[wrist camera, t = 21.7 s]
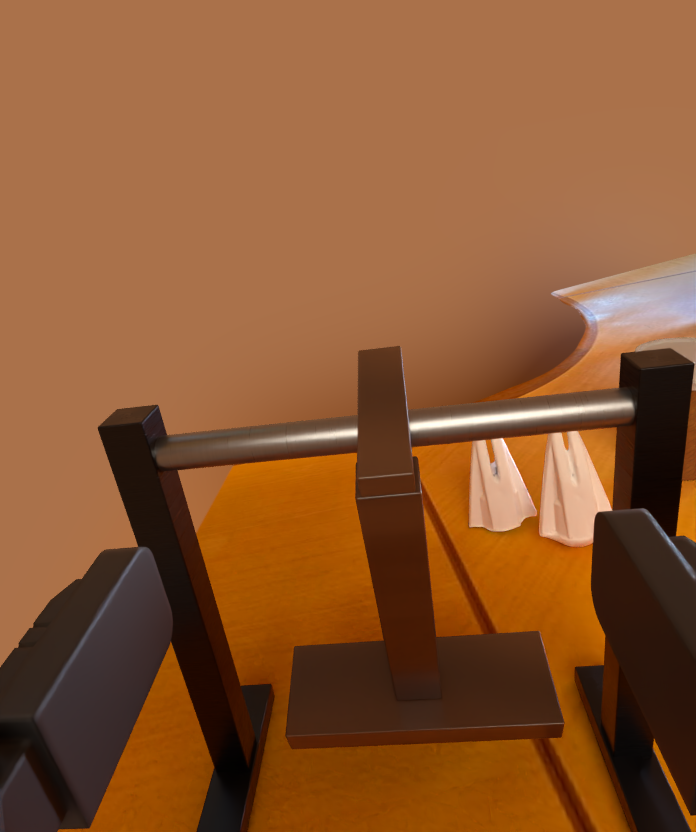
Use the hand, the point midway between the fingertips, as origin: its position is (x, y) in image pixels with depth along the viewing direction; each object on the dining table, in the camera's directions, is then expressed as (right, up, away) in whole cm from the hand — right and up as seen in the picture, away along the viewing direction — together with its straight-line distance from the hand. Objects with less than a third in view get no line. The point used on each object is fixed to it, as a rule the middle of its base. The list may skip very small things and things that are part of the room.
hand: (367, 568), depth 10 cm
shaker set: (+17, -8, +40) cm, 44 cm away
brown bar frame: (+4, -11, +23) cm, 26 cm away
